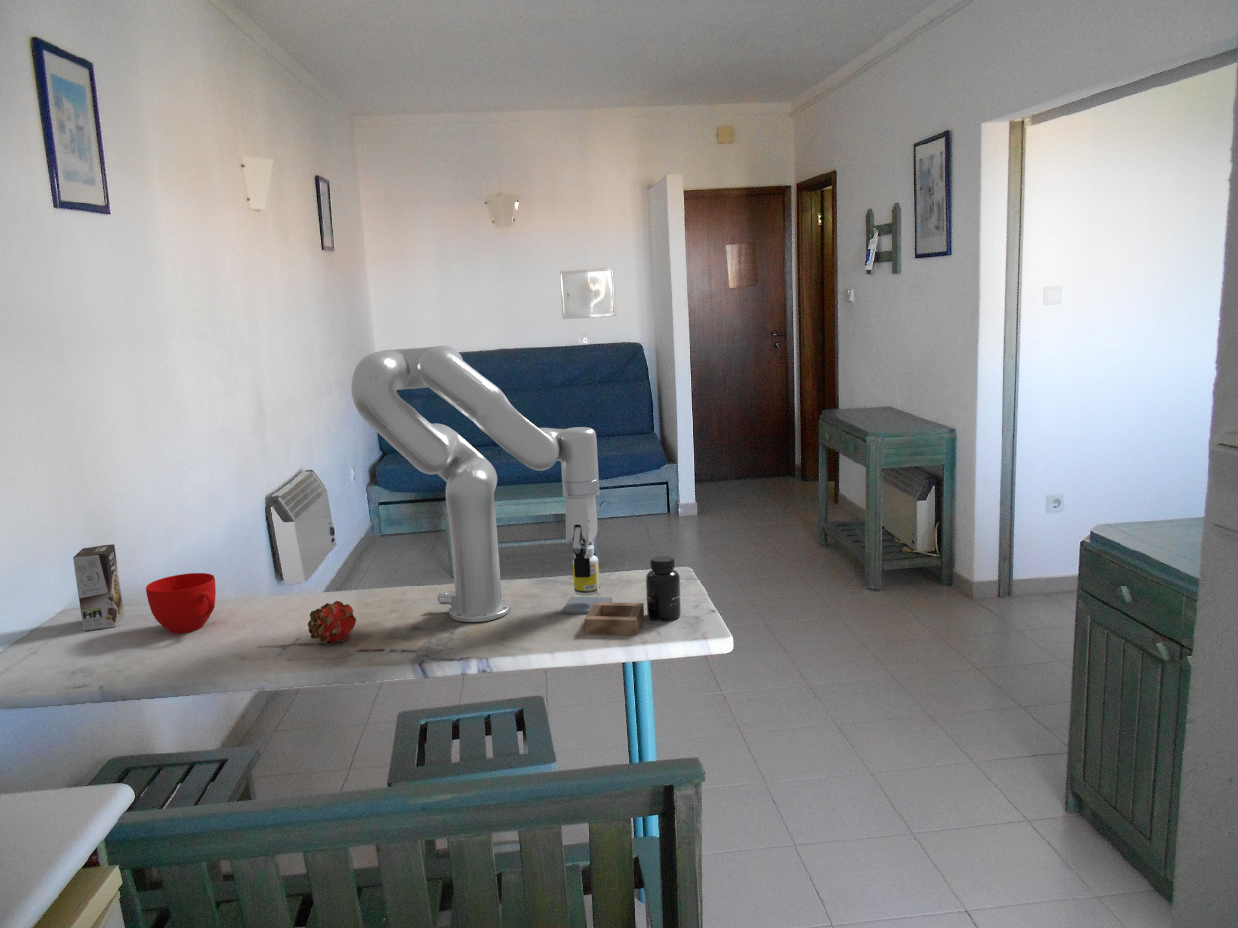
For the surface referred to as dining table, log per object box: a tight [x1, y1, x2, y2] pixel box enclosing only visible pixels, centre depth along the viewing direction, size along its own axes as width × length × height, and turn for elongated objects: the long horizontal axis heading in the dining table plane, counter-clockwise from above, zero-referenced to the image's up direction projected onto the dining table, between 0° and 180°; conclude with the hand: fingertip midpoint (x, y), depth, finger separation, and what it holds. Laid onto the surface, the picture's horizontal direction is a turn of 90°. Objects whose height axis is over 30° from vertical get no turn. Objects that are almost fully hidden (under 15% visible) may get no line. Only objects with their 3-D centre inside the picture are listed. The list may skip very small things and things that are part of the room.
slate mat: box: [560, 596, 613, 615], centre depth 192 cm, size 9×9×1 cm
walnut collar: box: [584, 602, 645, 636], centre depth 179 cm, size 10×10×3 cm
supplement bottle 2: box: [645, 555, 682, 622], centre depth 183 cm, size 7×7×12 cm
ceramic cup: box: [145, 572, 217, 634], centre depth 188 cm, size 13×17×10 cm
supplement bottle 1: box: [572, 545, 601, 597], centre depth 190 cm, size 5×5×10 cm
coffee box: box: [72, 543, 125, 632], centre depth 194 cm, size 9×6×16 cm
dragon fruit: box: [307, 600, 357, 646], centre depth 178 cm, size 8×8×12 cm
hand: (585, 571), depth 191 cm, fingers closed on supplement bottle 1, 5 cm apart
